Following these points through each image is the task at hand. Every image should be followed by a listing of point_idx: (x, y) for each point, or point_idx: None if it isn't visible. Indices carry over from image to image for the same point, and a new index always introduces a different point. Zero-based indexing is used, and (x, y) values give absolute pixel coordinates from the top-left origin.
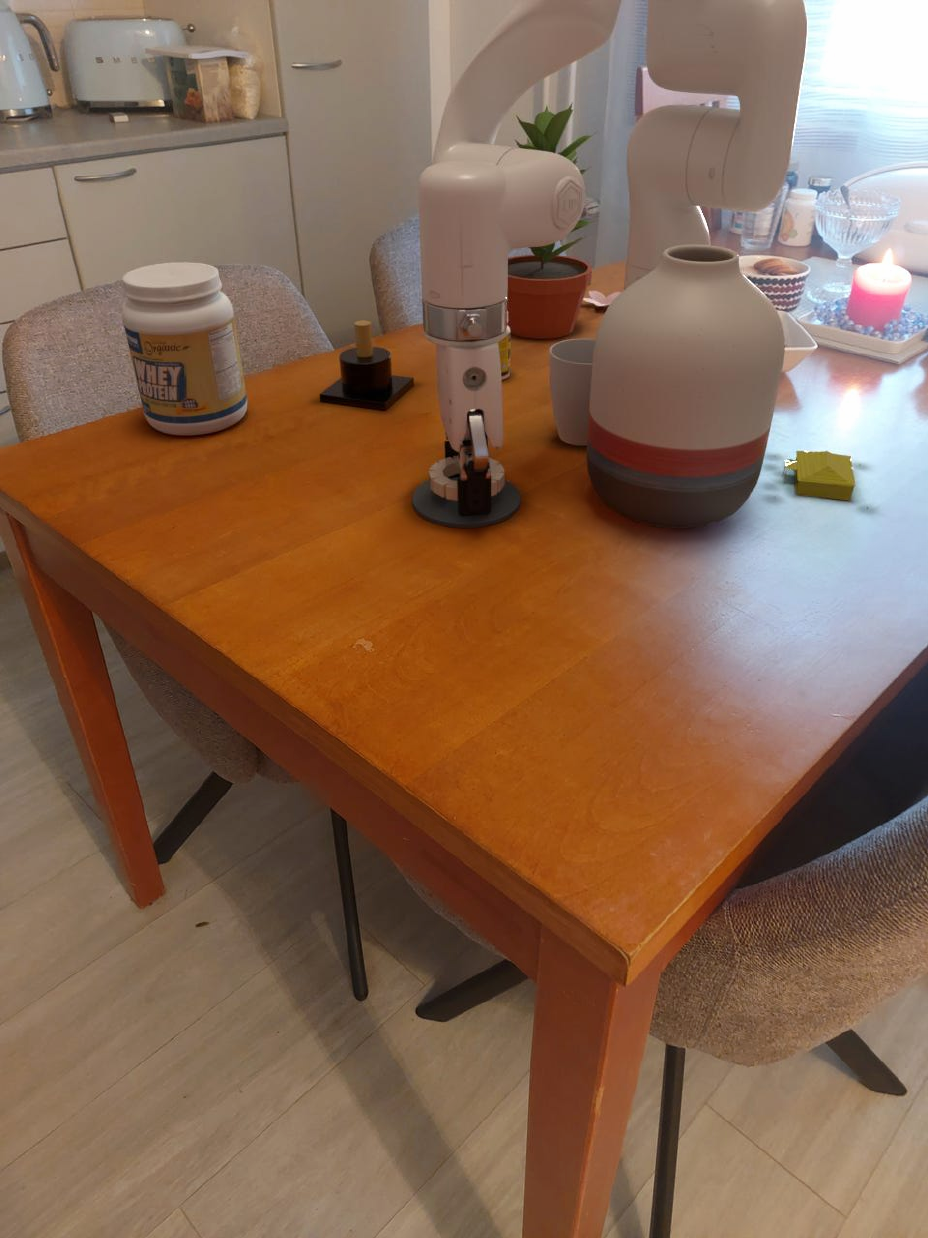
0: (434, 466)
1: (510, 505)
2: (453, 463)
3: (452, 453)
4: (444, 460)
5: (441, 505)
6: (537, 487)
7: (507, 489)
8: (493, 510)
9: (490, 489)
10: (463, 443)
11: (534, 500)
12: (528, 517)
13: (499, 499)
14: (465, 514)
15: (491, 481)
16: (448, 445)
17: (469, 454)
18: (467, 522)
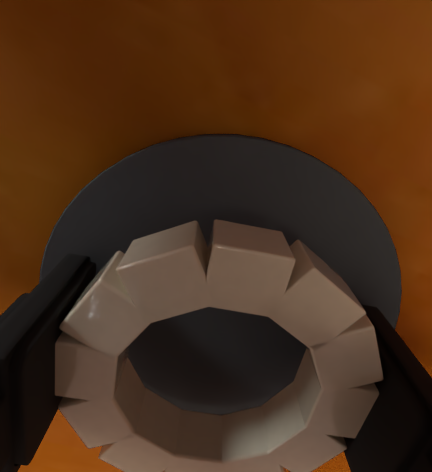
0: (133, 468)
1: (346, 218)
2: (121, 408)
3: (49, 409)
4: (89, 430)
5: (242, 391)
6: (216, 22)
7: (225, 178)
8: (344, 279)
9: (425, 373)
10: (21, 412)
11: (316, 92)
12: (417, 173)
13: (284, 235)
14: None
15: (359, 345)
16: (28, 463)
17: (55, 338)
18: None
